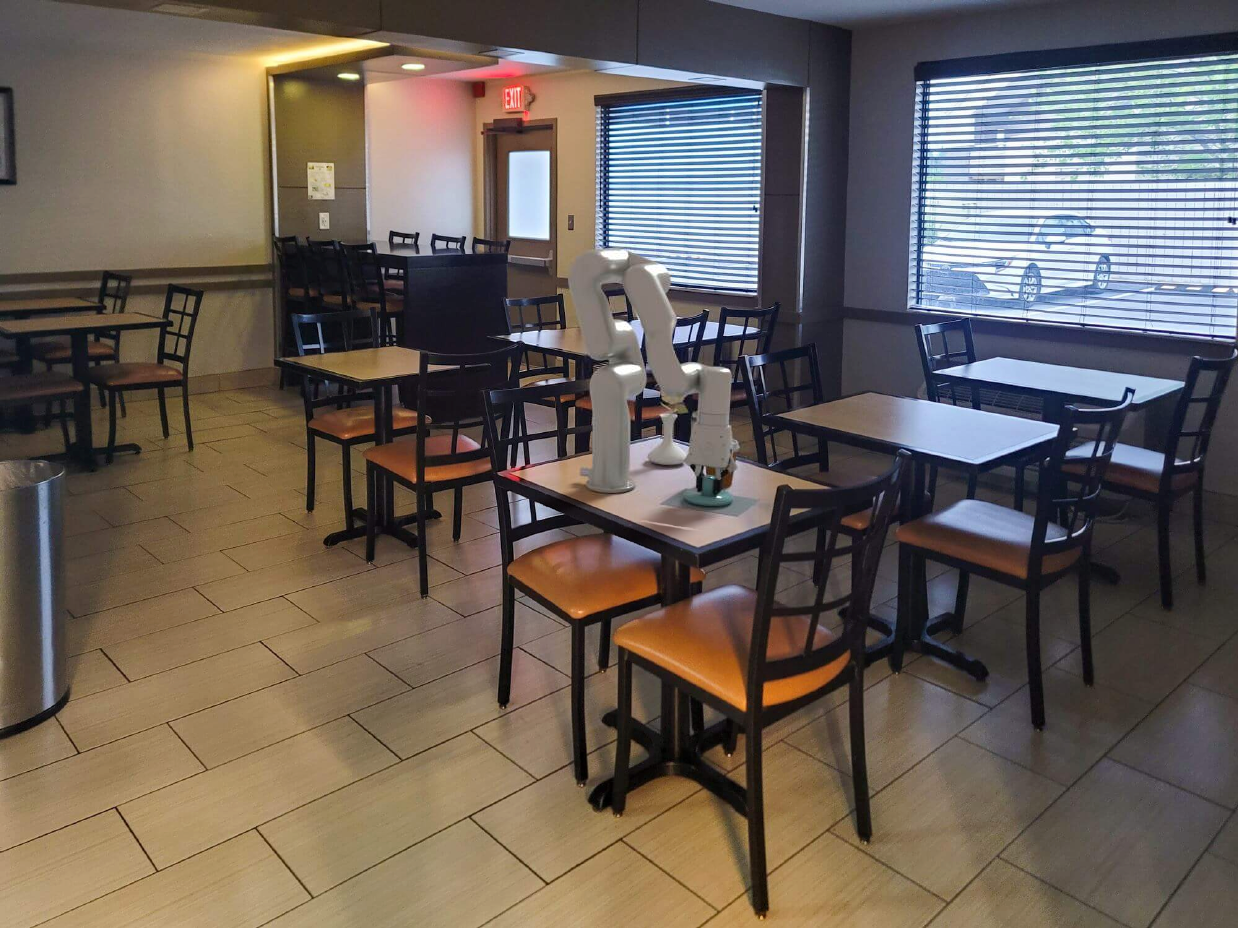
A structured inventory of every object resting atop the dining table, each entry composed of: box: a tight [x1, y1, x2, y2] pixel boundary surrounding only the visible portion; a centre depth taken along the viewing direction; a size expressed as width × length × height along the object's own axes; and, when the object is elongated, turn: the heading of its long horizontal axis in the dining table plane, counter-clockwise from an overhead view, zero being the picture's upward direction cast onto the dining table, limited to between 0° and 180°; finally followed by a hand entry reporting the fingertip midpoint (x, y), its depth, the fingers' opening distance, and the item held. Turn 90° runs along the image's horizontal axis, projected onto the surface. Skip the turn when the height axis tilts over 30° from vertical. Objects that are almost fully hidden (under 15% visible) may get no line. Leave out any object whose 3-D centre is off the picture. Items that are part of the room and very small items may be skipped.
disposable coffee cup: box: [705, 438, 740, 489], centre depth 256 cm, size 10×10×12 cm
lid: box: [684, 474, 734, 506], centre depth 242 cm, size 12×12×6 cm
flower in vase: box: [646, 389, 689, 466], centre depth 277 cm, size 13×11×25 cm
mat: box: [659, 487, 761, 518], centre depth 242 cm, size 20×16×1 cm
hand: (708, 491), depth 242 cm, fingers closed on lid, 3 cm apart
